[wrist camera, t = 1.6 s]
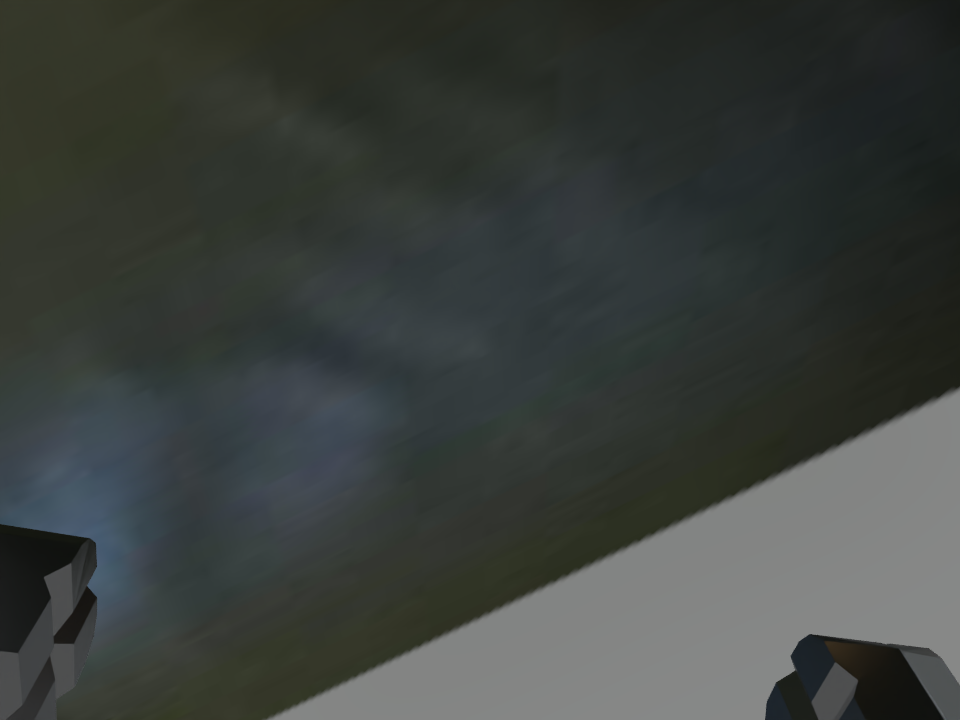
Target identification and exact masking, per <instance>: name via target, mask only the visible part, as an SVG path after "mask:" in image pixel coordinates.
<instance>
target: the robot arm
mask: <svg viewBox="0 0 960 720" xmlns="http://www.w3.org/2000/svg"><path fill="white" fill-rule="evenodd" d="M96 567H97V559H96V543H95V542H94V541H93V540H91V539H90V538H84V537H78V536H71V535H65V534H59V533H52V532H46V531H40V530H33V529H27V528H21V527H14V526H8V525H2V524H0V720H56V699H57V698H59V697H60V696H62V695H63V694H65V693H66V692H68V691H69V690H71V689H72V688H74V687H75V685H76V683H77V680H78V678H79V676H80V674H81V672H82V670H83V667H84V665H85V663H86V660H87V656H88V653H89V650H90V647H91V643H92V640H93V637H94V631H95V625H96V618H97V597H96V596H95V595H94V594H93V592H92V591H91V590H90V589H89V588H88V587H87V585H88V583H89V581H90V579H91V577H92V575H93V573H94V571H95V569H96ZM791 659H792V662H793V665H794V668H795V671H794V672H792V673H791V674H790V675H788V676H786V677H784V678H783V679H781V680H780V681H778V682H776V684H775V686H774V688H773V691H772V692H771V694H770V697H769V699H768V701H767V705H766V717H765V720H960V685H959V684H958V682H957V681H956V679H955V678H954V676H953V675H952V673H951V672H950V670H949V669H948V667H947V666H946V664H945V663H944V661H943V660H942V658H940V657H939V656H938V655H937V654H935V653H934V652H933V651H931V650H930V649H929V648H921V647H912V646H904V645H896V644H882V643H876V642H869V641H861V640H852V639H844V638H836V637H828V636H820V635H812V634H810V635H808V636H807V637H805V638H803V639H802V640H801V641H799V643H798V645H797V646H796V648H795V650H794V651H793V653H792V655H791Z"/></svg>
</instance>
